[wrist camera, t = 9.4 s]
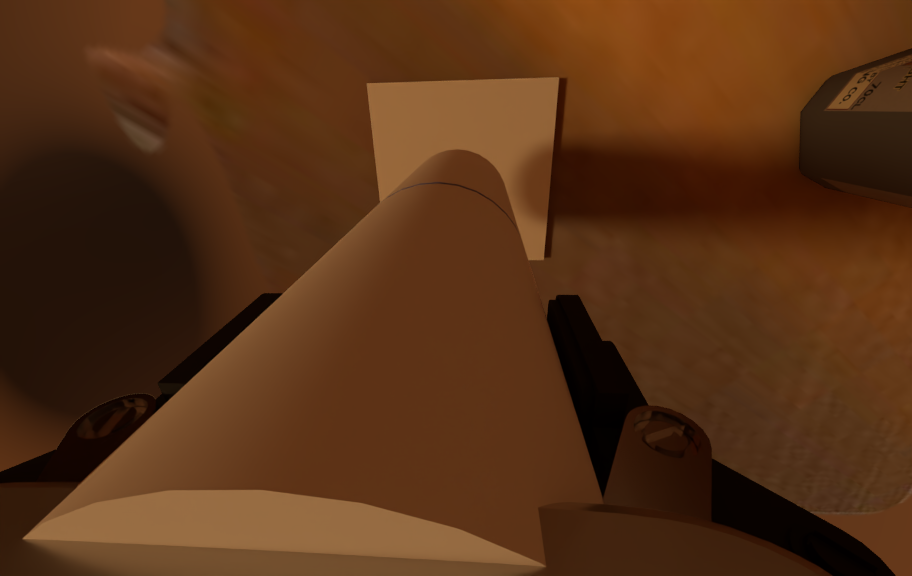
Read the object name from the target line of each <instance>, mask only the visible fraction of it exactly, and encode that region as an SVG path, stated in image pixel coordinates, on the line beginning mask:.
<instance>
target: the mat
mask: <svg viewBox="0 0 912 576" xmlns="http://www.w3.org/2000/svg"><path fill="white" fill-rule="evenodd" d="M558 85H559V77H552V78H521V79H490V80H459V81H427V82H396V83H367V90H368V99H369V108H370V117H371V126H372V134H373V143H374V152H375V161H376V170H377V178H378V187H379V196H380V203H381V202H382V201H383V200H384V199H385V198H386V197H387V196H388V195H389V194H390V193H391V192H392V191H394V190H395V189H396V188H397V187H398V186H399V185H400V184H401V183H402V182H403V181H404V180H405V179H406V178H407V177H409V176H410V175H411V174H412V173H413V172H414V171H415V170H416V169H417V168H418V167H419V166H420V165H421V164H422V163H424V162H425V161H426V160H427V159H428V158H430V157H432V156H433V155H435V154H437V153H440V152H443V151H446V150H455V149H460V150H468V151H471V152H474V153H476V154H479V155H481V156H482V157H484V158H485V159H487V160H488V161H489V162H490V163H491V164H492V165H493V166H495V168H496V169H497V171H498V172H499V173H500V175H501V177H502V179H503V181H504V184H505V187H506V190H507V193H508V197H509V200H510V203H511V206H512V210H513V213H514V216H515V219H516V223H517V226H518V229H519V232H520V235H521V238H522V242H523V245H524V248H525V251H526V254H527V258H528V260H544V251H545V239H546V227H547V215H548V203H549V192H550V180H551V168H552V156H553V144H554V132H555V121H556V109H557V97H558Z"/></svg>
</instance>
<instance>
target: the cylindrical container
mask: <svg viewBox="0 0 912 576" xmlns="http://www.w3.org/2000/svg"><path fill="white" fill-rule="evenodd" d="M561 502H579V503H595V504H604V503H603V497H602V494H601V491H600V488H599V485H598V481H597V478H596V475H595V472H594V469H593V465H592V462H591V459H590V456H589V453H588V449H587V446H586V443H585V440H584V437H583V433H582V430H581V427H580V424H579V421H578V417H577V414H576V411H575V408H574V405H573V401H572V398H571V395H570V392H569V389H568V385H567V382H566V379H565V376H564V373H563V369H562V366H561V363H560V360H559V357H558V353H557V350H556V347H555V344H554V341H553V337H552V334H551V331H550V328H549V325H548V321H547V318H546V315H545V312H544V309H543V305H542V302H541V299H540V296H539V293H538V290H537V286H536V283H535V280H534V277H533V274H532V270H531V267H530V264H529V261H528V258H527V254H526V251H525V248H524V245H523V242H522V238H521V235H520V232H519V229H518V226H517V223H516V219H515V216H514V213H513V210H512V206H511V203H510V200H509V197H508V193H507V190H506V187H505V184H504V181H503V179H502V177H501V175H500V173H499V172H498V171H497V169H496V168H495V166H493V165H492V164H491V163H490V162H489V161H488V160H487V159H485V158H484V157H482V156H481V155H479V154H476V153H474V152H471V151H468V150H460V149H455V150H446V151H443V152H440V153H437V154H435V155H433V156H432V157H430V158H428V159H427V160H426V161H425V162H424V163H422V164H421V165H420V166H419V167H418V168H417V169H416V170H415V171H414V172H413V173H412V174H411V175H410V176H409V177H407V178H406V179H405V180H404V181H403V182H402V183H401V184H400V185H399V186H398V187H397V188H396V189H395V190H394V191H392V192H391V193H390V194H389V195H388V196H387V197H386V198H385V199H384V200H383V201H382V202H381V203H379V204H378V205H377V206H376V207H375V208H374V209H373V210H372V211H371V212H370V213H369V214H368V215H367V216H366V217H365V218H363V219H362V220H361V221H360V222H359V223H358V224H357V225H356V226H355V227H354V228H353V229H352V230H351V231H350V232H349V233H347V234H346V235H345V236H344V237H343V238H342V239H341V240H340V241H339V242H338V243H337V244H336V245H335V246H334V247H333V248H331V249H330V250H329V251H328V252H327V253H326V254H325V255H324V256H323V257H322V258H321V259H320V260H319V261H318V262H317V263H315V264H314V265H313V266H312V267H311V268H310V269H309V270H308V271H307V272H306V273H305V274H304V275H303V276H302V277H300V278H299V279H298V280H297V281H296V282H295V283H294V284H293V285H292V286H291V287H290V288H289V289H288V290H287V291H285V292H284V293H283V294H282V295H281V296H280V297H279V298H278V299H277V300H276V301H275V302H274V303H273V304H272V305H270V306H269V307H268V308H267V309H266V310H265V311H264V312H263V313H262V314H261V315H260V316H259V317H258V318H257V319H255V320H254V321H253V322H252V323H251V324H250V325H249V326H248V327H247V328H246V329H245V330H244V331H243V332H241V333H240V334H239V335H238V336H237V337H236V338H235V339H234V340H233V341H232V342H231V343H230V344H229V345H228V346H226V347H225V348H224V349H223V350H222V351H221V352H220V353H219V354H218V355H217V356H216V357H215V358H214V359H213V360H211V361H210V362H209V363H208V364H207V365H206V366H205V367H204V368H203V369H202V370H201V371H200V372H199V373H197V374H196V375H195V376H194V377H193V378H192V379H191V380H190V381H189V382H188V383H187V384H186V385H185V386H184V387H182V388H181V389H180V390H179V391H178V392H177V393H176V394H175V395H174V396H173V397H172V398H171V399H170V400H169V401H167V402H166V403H165V404H164V405H163V406H162V407H161V408H160V409H159V410H158V411H157V412H156V413H155V414H153V415H152V416H151V417H150V418H149V419H148V420H147V421H146V422H145V423H144V424H143V425H142V426H141V427H140V428H138V429H137V430H136V431H135V432H134V433H133V434H132V435H131V436H130V437H129V438H128V439H127V440H126V441H125V442H123V443H122V444H121V445H120V446H119V447H118V448H117V449H116V450H115V451H114V452H113V453H112V454H111V455H109V456H108V457H107V458H106V459H105V460H104V461H103V462H102V463H101V464H100V465H99V466H98V467H97V468H96V469H94V470H93V471H92V472H91V473H90V474H89V475H88V476H87V477H86V478H85V479H84V480H83V481H82V482H81V483H79V484H78V486H77V488H76V489H75V490H74V491H73V492H72V493H70V494H69V495H68V496H67V497H66V498H65V499H64V500H63V501H62V502H61V503H60V504H59V505H58V506H57V507H56V508H55V509H53V510H52V511H51V512H50V513H49V514H48V515H47V516H46V517H45V518H44V519H43V520H42V521H41V522H40V523H39V524H37V525H36V526H35V527H34V528H33V529H32V530H31V531H30V532H29V533H28V534H27V535H26V536H25V537H24V538H22V539H38V540H62V541H83V542H103V543H123V544H144V545H165V546H186V547H207V548H227V549H246V550H265V551H284V552H303V553H321V554H338V555H355V556H373V557H391V558H409V559H427V560H445V561H463V562H481V563H498V564H513V565H527V566H542V567H546V562H545V554H544V547H543V540H542V533H541V525H540V518H539V511H538V507H541V506H544V505H548V504H553V503H561Z"/></svg>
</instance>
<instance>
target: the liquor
mask: <svg viewBox="0 0 912 576" xmlns="http://www.w3.org/2000/svg"><path fill="white" fill-rule="evenodd" d="M799 169H800V171H801V173H802V174H803V175H805V176H806V177H808V178H810V179H811V180H813V181H815V182H817V183H818V184H820V185H822V186H823V187H825V188H828V189H833V190H837V191H841V192H846V193H850V194H854V195H859V196H863V197H867V198H871V199H876V200H880V201H884V202H889V203H893V204H897V205H902V206H906V207H910V208H912V48H911V49H908V50H906V51H903V52H900V53H897V54H894V55H891V56H888V57H885V58H882V59H879V60H877V61H874V62H871V63H868V64H865V65H862V66H859V67H856V68H853V69H850V70H848V71H845V72H842V73H839V74H836V75H833V76H831V77H830V78H829V79H828V80H826V81H825V82H824V84H823V85H822V86H821V87H820V89H819V90H818V91H817V92H816V94H815V95H814V96H813V97H812V98H811V100H810V101H809V102H808V103H807V105H806V106H805V107H804V108H803V110H802V111H801V118H800V155H799Z"/></svg>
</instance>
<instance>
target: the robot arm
mask: <svg viewBox="0 0 912 576" xmlns="http://www.w3.org/2000/svg"><path fill="white" fill-rule="evenodd" d="M282 294H283V293H264V294H262V295H260V296H259V297H258V298H257V299H256V300H255V301H254V302H252V303H251V304H250V305H249V306H248V307H246V308H245V309H244V310H243V311H242V312H240V313H239V314H238V315H237V316H236V317H235V318H234V319H232V320H231V321H230V322H229V323H228V324H226V325H225V326H224V327H223V328H222V329H221V330H219V331H218V332H217V333H216V334H215V335H213V336H212V337H211V338H210V339H209V340H207V342H205V343H204V344H203V345H202V346H201V347H199V348H198V349H197V350H196V351H195V352H193V353H192V354H191V355H190V356H189V357H187V358H186V359H185V360H184V361H183V362H182V363H181V364H179V365H178V366H177V367H176V368H175V369H173V370H172V371H171V372H170V373H169V374H167V375H166V376H165V377H164V378H163V379H162V380H160V381H159V382H158V385H159V388H160V389H161V392H162V394H161V395H160V396H159V397H158V398H157V399H155V398H154V397H153V396H152V395H149V394H145V393H143V394H142V393H140V394H139V393H137V394H130V395H125V396H122V397H119V398H115V399H112V400H110V401H107V402H105V403H103V404H101V405H99V406H97V407H95V408H93V409H92V410H90V411H88V412H87V413H85V414H84V415H83V416H81V417H80V418H79V419H78V420H76V421H75V422H74V424H73V425H72V426H71V427H70V428H69V430H68V431H67V433H66V434H65V436H64V438H63V439H62V441H61V442H60V444H59V446H58V447H57V449H56V450H53V451H51V452H49V453H46V454H43V455H41V456H39V457H36V458H34V459H31V460H29V461H26V462H24V463H21V464H19V465H16V466H14V467H11V468H9V469H7V470H4V471H2V472H0V576H895V574H894V573H893V572H892V571H891V570H890V569H889V568H888V566H887V565H886V564H885V563H884V562H883V561H882V560H881V558H879V557H878V556H877V555H876V554H874V553H873V552H872V551H871V550H870V549H869V548H867V547H866V546H865V545H864V544H863V543H862V542H860V541H858V540H857V539H855V538H854V537H852V536H851V535H849V534H847V533H846V532H844V531H843V530H841V529H839V528H837V527H836V526H834V525H832V524H830V523H828V522H827V521H825V520H823V519H821V518H819V517H817V516H816V515H814V514H812V513H810V512H808V511H807V510H805V509H803V508H801V507H799V506H797V505H796V504H794V503H792V502H790V501H788V500H787V499H785V498H783V497H781V496H779V495H777V494H776V493H774V492H772V491H770V490H768V489H767V488H765V487H763V486H761V485H759V484H758V483H756V482H754V481H752V480H750V479H748V478H747V477H745V476H743V475H741V474H739V473H738V472H736V471H734V470H732V469H730V468H728V467H727V466H725V465H723V464H721V463H719V462H718V461H716V460H714V459H712V448H711V444H710V439H709V438H708V436H707V435H706V433H705V432H704V430H703V429H702V428H701V427H699V426H698V425H697V424H696V423H695V422H694V421H693V420H691V419H689V418H688V417H686V416H685V415H683V414H681V413H679V412H676V411H674V410H672V409H669V408H664V407H660V406H649V405H648V403H647V402H646V400H645V398H644V396H643V395H642V393H641V391H640V389H639V388H638V386H637V384H636V382H635V380H634V379H633V377H632V375H631V373H630V372H629V370H628V368H627V366H626V365H625V363H624V361H623V359H622V357H621V356H620V354H619V352H618V350H617V349H616V347H615V345H614V344H613V343H612V342H611V341H602V340H601V338H600V336H599V334H598V332H597V330H596V328H595V326H594V324H593V322H592V320H591V318H590V317H589V315H588V313H587V311H586V309H585V307H584V305H583V303H582V301H581V299H580V297H579V296H578V295H557V296H556V300H549V304H548V314H547V321H548V325H549V328H550V331H551V334H552V337H553V341H554V344H555V347H556V350H557V353H558V357H559V360H560V363H561V366H562V369H563V373H564V376H565V379H566V382H567V385H568V389H569V392H570V395H571V398H572V401H573V405H574V408H575V411H576V414H577V417H578V421H579V424H580V427H581V430H582V433H583V437H584V440H585V443H586V446H587V449H588V453H589V456H590V459H591V462H592V465H593V469H594V472H595V475H596V478H597V481H598V485H599V488H600V491H601V494H602V497H603V503H604V504H595V503H579V502H561V503H553V504H548V505H544V506H541V507H538V511H539V518H540V525H541V533H542V540H543V547H544V554H545V562H546V567H542V566H527V565H513V564H498V563H481V562H463V561H445V560H427V559H409V558H391V557H373V556H355V555H338V554H321V553H303V552H284V551H265V550H246V549H227V548H207V547H186V546H165V545H144V544H123V543H103V542H83V541H62V540H38V539H22V538H24V537H25V536H26V535H27V534H28V533H29V532H30V531H31V530H32V529H33V528H34V527H35V526H36V525H37V524H39V523H40V522H41V521H42V520H43V519H44V518H45V517H46V516H47V515H48V514H49V513H50V512H51V511H52V510H53V509H55V508H56V507H57V506H58V505H59V504H60V503H61V502H62V501H63V500H64V499H65V498H66V497H67V496H68V495H69V494H70V493H72V492H73V491H74V490H75V489H76V488H77V486H78V484H79V483H81V482H82V481H83V480H84V479H85V478H86V477H87V476H88V475H89V474H90V473H91V472H92V471H93V470H94V469H96V468H97V467H98V466H99V465H100V464H101V463H102V462H103V461H104V460H105V459H106V458H107V457H108V456H109V455H111V454H112V453H113V452H114V451H115V450H116V449H117V448H118V447H119V446H120V445H121V444H122V443H123V442H125V441H126V440H127V439H128V438H129V437H130V436H131V435H132V434H133V433H134V432H135V431H136V430H137V429H138V428H140V427H141V426H142V425H143V424H144V423H145V422H146V421H147V420H148V419H149V418H150V417H151V416H152V415H153V414H155V413H156V412H157V411H158V410H159V409H160V408H161V407H162V406H163V405H164V404H165V403H166V402H167V401H169V400H170V399H171V398H172V397H173V396H174V395H175V394H176V393H177V392H178V391H179V390H180V389H181V388H182V387H184V386H185V385H186V384H187V383H188V382H189V381H190V380H191V379H192V378H193V377H194V376H195V375H196V374H197V373H199V372H200V371H201V370H202V369H203V368H204V367H205V366H206V365H207V364H208V363H209V362H210V361H211V360H213V359H214V358H215V357H216V356H217V355H218V354H219V353H220V352H221V351H222V350H223V349H224V348H225V347H226V346H228V345H229V344H230V343H231V342H232V341H233V340H234V339H235V338H236V337H237V336H238V335H239V334H240V333H241V332H243V331H244V330H245V329H246V328H247V327H248V326H249V325H250V324H251V323H252V322H253V321H254V320H255V319H257V318H258V317H259V316H260V315H261V314H262V313H263V312H264V311H265V310H266V309H267V308H268V307H269V306H270V305H272V304H273V303H274V302H275V301H276V300H277V299H278V298H279V297H280V296H281V295H282Z"/></svg>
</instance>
